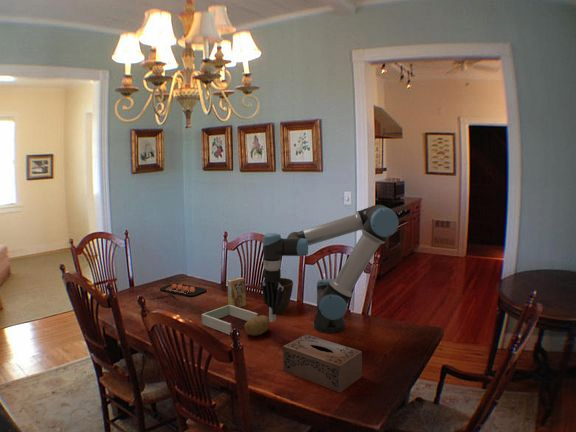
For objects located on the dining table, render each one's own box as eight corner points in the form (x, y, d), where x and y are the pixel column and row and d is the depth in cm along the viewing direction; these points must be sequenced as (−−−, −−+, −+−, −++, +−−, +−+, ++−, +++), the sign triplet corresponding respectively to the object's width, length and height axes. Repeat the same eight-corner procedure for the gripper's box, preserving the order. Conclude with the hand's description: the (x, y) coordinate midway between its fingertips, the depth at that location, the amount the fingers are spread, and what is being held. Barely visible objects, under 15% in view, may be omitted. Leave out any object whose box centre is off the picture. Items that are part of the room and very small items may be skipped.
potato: (275, 330, 206) (275, 314, 205) (256, 341, 195) (256, 324, 193) (258, 326, 212) (258, 310, 210) (239, 336, 200) (239, 320, 199)
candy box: (241, 303, 244) (240, 277, 242) (246, 305, 241) (245, 278, 239) (228, 307, 239) (227, 280, 237) (232, 309, 236) (231, 281, 234)
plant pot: (299, 311, 231) (299, 282, 228) (277, 318, 221) (276, 287, 219) (281, 304, 242) (281, 276, 240) (259, 311, 233) (258, 281, 231)
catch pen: (257, 323, 216) (257, 313, 215) (230, 335, 202) (229, 324, 202) (229, 313, 229) (229, 304, 229) (201, 324, 216) (201, 314, 215)
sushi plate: (209, 292, 268) (208, 286, 268) (172, 306, 243) (171, 300, 243) (175, 285, 284) (174, 279, 283) (137, 298, 259) (136, 292, 258)
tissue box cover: (361, 377, 163) (361, 351, 161) (340, 393, 152) (340, 366, 150) (306, 357, 179) (306, 334, 178) (283, 371, 168) (282, 346, 167)
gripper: (255, 268, 194) (256, 319, 197) (277, 273, 185) (277, 327, 188) (267, 264, 199) (267, 315, 202) (289, 269, 191) (289, 322, 194)
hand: (272, 320), depth 195 cm, fingers closed
